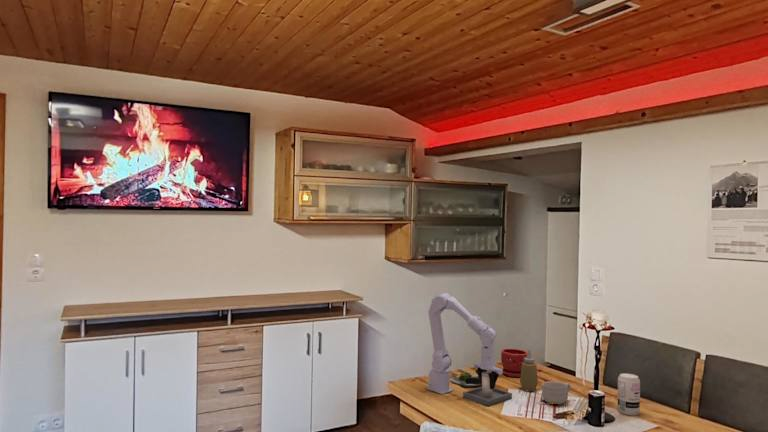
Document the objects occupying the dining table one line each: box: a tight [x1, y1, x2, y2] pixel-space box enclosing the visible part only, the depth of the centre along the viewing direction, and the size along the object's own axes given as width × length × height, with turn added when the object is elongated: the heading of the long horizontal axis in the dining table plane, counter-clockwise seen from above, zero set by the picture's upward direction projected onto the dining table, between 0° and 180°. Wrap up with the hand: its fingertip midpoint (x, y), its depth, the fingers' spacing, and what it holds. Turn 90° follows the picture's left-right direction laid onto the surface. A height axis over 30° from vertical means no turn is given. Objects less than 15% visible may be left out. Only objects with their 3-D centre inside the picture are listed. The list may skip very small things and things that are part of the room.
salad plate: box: [450, 371, 482, 389], centre depth 258 cm, size 19×18×5 cm
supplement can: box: [617, 373, 641, 417], centre depth 218 cm, size 8×8×15 cm
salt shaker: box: [482, 371, 493, 396], centre depth 233 cm, size 5×5×9 cm
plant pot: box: [500, 348, 528, 378], centre depth 271 cm, size 13×13×12 cm
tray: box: [462, 387, 513, 407], centre depth 233 cm, size 14×16×2 cm
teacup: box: [541, 381, 572, 406], centre depth 230 cm, size 14×11×8 cm
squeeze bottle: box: [519, 349, 539, 392], centre depth 247 cm, size 8×8×18 cm
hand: (487, 387), depth 234 cm, fingers closed on salt shaker, 4 cm apart
